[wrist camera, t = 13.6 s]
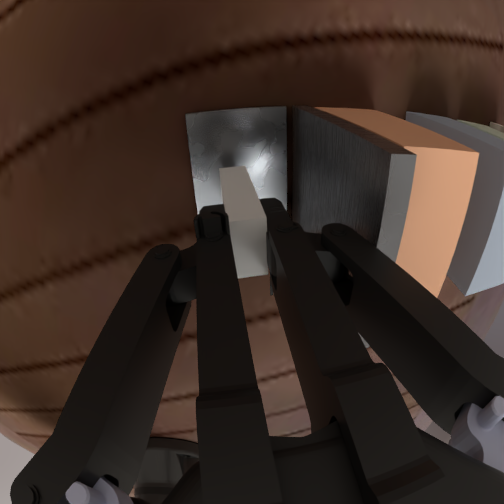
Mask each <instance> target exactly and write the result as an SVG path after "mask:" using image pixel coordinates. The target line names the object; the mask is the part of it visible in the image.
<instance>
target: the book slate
mask: <svg viewBox="0 0 504 504" xmlns="http://www.w3.org/2000/svg"><path fill="white" fill-rule="evenodd" d="M406 121H408V122H411V123H413V124H416V125H419V126H421V127H424V128H426V129H429V130H431V131H433V132H436V133H438V134H440V135H443V136H445V137H447V138H450V139H452V140H454V141H456V142H458V143H460V144H463V145H465V146H467V147H469V148H471V149H473V150H475V151H477V152H479V158H478V163H477V169H476V174H475V178H474V183H473V187H472V192H471V196H470V200H469V204H468V208H467V212H466V215H465V219H464V223H463V226H462V229H461V233H460V236H459V239H458V242H457V245H456V249H455V252H454V254H453V257H452V260H451V263H450V266H449V269H448V271H447V274H446V275H447V276H448V277H449V278H450V279H451V280H452V281H453V283H454V284H455V285H456V286H457V287H458V288H459V289H460V291H461V292H462V293H463V294H464V295H465V296H467V295H470V294H474V293H477V292H480V291H483V290H486V289H488V288H491V287H494V286H497V285H500V284H503V283H504V141H503V140H501V139H499V138H497V137H495V136H492V135H490V134H488V133H486V132H483V131H481V130H479V129H476V128H474V127H471V126H469V125H466V124H464V123H461V122H458V121H456V120H453V119H450V118H447V117H442V116H436V115H429V114H423V113H416V112H408V111H406Z"/></svg>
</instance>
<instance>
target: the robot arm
mask: <svg viewBox="0 0 504 504" xmlns="http://www.w3.org/2000/svg"><path fill="white" fill-rule="evenodd" d="M219 171H220V181H221V191H222V201H223V204H217V205H209V206H203V207H202V209H201V210H200V211H199V214H198V215H197V216H196V217H195V218H194V226H195V232H196V238H197V242H196V243H195V244H194V245H193V246H191V247H189V248H187V249H184V250H181V251H180V250H179V248H178V247H177V246H175V245H172V244H162V245H158V246H156V247H154V248H152V249H151V250H150V251H149V252H148V253H147V254H146V255H145V257H144V259H143V260H142V262H141V264H140V265H139V267H138V268H137V270H136V272H135V273H134V275H133V277H132V278H131V280H130V282H129V283H128V285H127V287H126V288H125V290H124V292H123V294H122V295H121V297H120V299H119V301H118V302H117V304H116V306H115V308H114V309H113V311H112V313H111V315H110V317H109V318H108V320H107V322H106V324H105V326H104V327H103V329H102V331H101V333H100V335H99V337H98V339H97V341H96V342H95V344H94V346H93V348H92V350H91V352H90V354H89V356H88V358H87V360H86V362H85V364H84V366H83V368H82V370H81V372H80V374H79V376H78V378H77V380H76V382H75V384H74V387H73V389H72V391H71V393H70V395H69V397H68V399H67V402H66V404H65V406H64V408H63V411H62V413H61V415H60V417H59V420H58V422H57V424H56V427H55V429H54V432H53V434H52V435H51V436H50V438H49V439H48V440H47V441H46V442H45V443H44V445H43V446H42V447H41V448H40V449H39V451H38V452H37V453H36V454H35V455H34V456H33V458H32V459H31V460H30V461H29V462H28V464H27V465H26V466H25V467H24V469H23V470H22V471H21V472H20V473H19V475H18V476H17V477H16V478H15V480H14V482H13V484H12V486H11V492H10V496H11V501H12V504H504V358H502V357H500V356H499V355H497V354H495V353H494V352H493V351H492V350H491V349H490V348H489V347H488V346H487V345H486V344H485V343H484V342H483V341H482V340H481V339H480V338H479V337H478V336H477V335H476V334H475V333H474V332H473V331H472V330H471V329H470V328H469V327H468V326H467V325H466V324H465V323H464V322H463V321H462V320H460V319H459V318H458V317H457V316H456V315H455V314H454V313H453V312H452V311H451V310H450V309H448V308H447V307H446V306H445V305H444V304H443V303H442V302H441V301H440V300H438V299H437V298H436V297H435V296H434V295H433V294H432V293H431V292H429V291H428V290H427V289H426V288H425V287H424V286H422V285H421V284H420V283H419V282H418V281H417V280H415V279H414V278H413V277H412V276H411V275H410V274H408V273H407V272H406V271H405V270H404V269H402V268H401V267H400V266H399V265H397V264H396V263H395V262H394V261H393V260H391V259H390V258H389V257H388V256H386V255H385V254H384V253H383V252H381V251H380V250H379V249H378V248H376V247H375V246H374V245H373V244H371V243H370V242H369V241H368V240H366V239H365V238H364V237H362V236H361V235H360V234H358V233H357V232H356V231H355V230H353V229H352V228H351V227H349V226H347V225H344V224H341V223H331V224H327V225H325V226H323V228H322V232H321V234H320V233H309V232H304V230H303V228H302V227H301V225H300V224H299V223H296V222H294V221H292V220H291V218H290V217H289V215H288V213H287V211H286V209H285V207H284V206H283V204H282V202H281V201H280V200H278V199H276V198H275V197H274V198H264V199H259V198H258V195H257V193H256V190H255V188H254V186H253V183H252V181H251V178H250V176H249V174H248V171H247V169H246V166H237V167H228V168H219ZM268 267H269V270H270V295H273V293H274V296H275V300H276V303H277V306H278V310H279V313H280V316H281V320H282V323H283V327H284V330H285V333H286V337H287V340H288V344H289V347H290V351H291V354H292V357H293V361H294V364H295V368H296V371H297V375H298V378H299V381H300V385H301V388H302V392H303V395H304V399H305V402H306V406H307V409H308V413H309V416H310V421H311V433H312V434H310V435H308V436H305V437H277V436H269V433H268V428H267V423H266V418H265V413H264V408H263V403H262V398H261V394H260V390H259V389H258V385H257V380H256V375H255V370H254V364H253V359H252V354H251V348H250V343H249V338H248V332H247V327H246V321H245V316H244V310H243V305H242V299H241V293H240V288H239V282H238V278H245V277H252V276H260V275H268ZM349 270H350V272H351V273H352V275H353V277H352V276H351V275H349V274H348V271H349ZM193 299H197V347H198V374H199V396H198V397H197V398H196V420H197V436H198V444H196V443H192V442H188V441H183V440H176V439H167V438H149V437H150V434H151V430H152V427H153V423H154V420H155V417H156V413H157V410H158V407H159V403H160V400H161V397H162V394H163V390H164V387H165V384H166V381H167V378H168V374H169V371H170V368H171V365H172V362H173V359H174V356H175V352H176V349H177V346H178V343H179V340H180V337H181V334H182V331H183V328H184V325H185V322H186V319H187V316H188V313H189V310H190V308H191V300H193ZM359 334H360V335H361V336H362V337H363V339H364V340H365V341H366V342H367V343H368V344H369V346H370V347H371V348H372V349H373V350H374V351H375V353H376V354H377V355H378V356H379V357H380V358H381V360H382V361H383V362H384V363H385V364H386V365H384V364H383V363H374V362H373V361H372V359H371V358H370V356H369V353H368V351H367V349H366V347H365V345H364V343H363V341H362V339H361V337H360V335H359ZM387 367H388V368H389V369H390V370H391V371H392V373H393V374H394V375H395V376H396V377H397V379H398V380H399V381H400V382H401V383H402V385H403V386H404V387H405V388H406V389H407V391H408V392H409V393H410V394H411V395H412V397H413V398H414V399H415V400H416V402H417V403H418V404H419V405H420V406H421V408H422V409H423V410H424V411H425V412H426V413H427V415H428V416H429V417H430V418H431V419H432V420H433V421H434V422H435V423H436V424H437V425H438V426H440V427H441V428H442V429H443V430H444V431H446V432H447V433H449V434H450V435H451V439H450V441H449V444H446V443H444V442H442V441H441V440H439V439H437V438H435V437H433V436H431V435H430V434H428V433H426V432H424V431H423V430H421V429H419V428H417V427H416V425H415V423H414V421H413V419H412V417H411V414H410V412H409V410H408V408H407V406H406V404H405V402H404V399H403V397H402V395H401V393H400V391H399V389H398V387H397V385H396V383H395V381H394V379H393V377H392V375H391V373H390V371H389V369H388V368H387ZM133 486H134V487H135V497H129V496H128V495H129V494H130V492H131V490H132V488H133Z"/></svg>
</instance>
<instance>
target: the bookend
mask: <svg viewBox="0 0 504 504" xmlns="http://www.w3.org/2000/svg"><path fill="white" fill-rule="evenodd" d="M185 116H186V125H187V134H188V143H189V151H190V160H191V168H192V175H193V183H194V191H195V198H196V205H197V212H198V214H199V211H200V210H201V209H202V207H203V206H209V205H217V204H223V201H222V191H221V181H220V171H219V168H228V167H237V166H246V169H247V171H248V174H249V176H250V178H251V181H252V183H253V186H254V188H255V190H256V193H257V195H258V198H259V199H264V198H274V197H275V198H276V199H278V200H280V201H281V202H282V204H283V206H284V207H285V209H286V211H287V121H286V106H264V107H246V108H233V109H221V110H211V111H202V112H194V113H186V114H185ZM292 123H293V185H292V221H294V222H296V223H299V224H300V225H301V227H302V228H303V230H304V232H309V233H320V234H321V232H322V228H323V226H325V225H327V224H331V223H341V224H344V225H347V226H349V227H351V228H352V229H353V230H355V231H356V232H357V233H358V234H360V235H361V236H362V237H364V238H365V239H366V240H368V241H369V242H370V243H371V244H373V245H374V246H375V247H376V248H378V249H379V250H380V251H381V252H383V253H384V254H385V255H386V256H388V257H389V258H390V259H391V260H393V261H394V262H395V263H396V259H397V255H398V251H399V247H400V243H401V239H402V234H403V230H404V225H405V221H406V216H407V211H408V206H409V201H410V195H411V190H412V184H413V178H414V171H415V165H416V157H417V155H416V154H414V153H412V152H411V151H409V150H407V149H405V148H403V147H401V146H399V145H397V144H395V143H393V142H391V141H389V140H387V139H385V138H383V137H381V136H379V135H377V134H375V133H372V132H370V131H368V130H366V129H364V128H361V127H359V126H357V125H355V124H352V123H350V122H348V121H345V120H343V119H340V118H338V117H336V116H333V115H331V114H328V113H326V112H323V111H320V110H318V109H315V108H312V107H310V106H292ZM348 274H349V275H351V276H352V277H353V275H352V273H351V272H350V270H349V271H348ZM359 335H360V334H359ZM360 337H361V339H362V341H363V343H364V345H365V347H366V348H368V347H369V344H368V343H367V342H366V341H365V340H364V339H363V337H362V336H361V335H360Z"/></svg>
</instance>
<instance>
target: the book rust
mask: <svg viewBox="0 0 504 504" xmlns="http://www.w3.org/2000/svg"><path fill="white" fill-rule="evenodd" d="M315 109H318V110H320V111H323V112H326V113H328V114H331V115H333V116H336V117H338V118H340V119H343V120H345V121H348V122H350V123H352V124H355V125H357V126H359V127H361V128H364V129H366V130H368V131H370V132H372V133H375V134H377V135H379V136H381V137H383V138H385V139H387V140H389V141H391V142H393V143H395V144H397V145H399V146H401V147H403V148H405V149H407V150H409V151H411V152H412V153H414V154H416V155H417V157H416V165H415V171H414V178H413V184H412V190H411V195H410V201H409V206H408V211H407V216H406V221H405V225H404V230H403V234H402V239H401V243H400V247H399V251H398V255H397V259H396V264H397V265H399V266H400V267H401V268H402V269H404V270H405V271H406V272H407V273H408V274H410V275H411V276H412V277H413V278H414V279H415V280H417V281H418V282H419V283H420V284H421V285H422V286H424V287H425V288H426V289H427V290H428V291H429V292H431V293H432V294H433V295H434V296H435V297H436V298H437V297H438V295H439V292H440V290H441V287H442V285H443V282H444V279H445V277H446V274H447V271H448V269H449V266H450V263H451V260H452V257H453V254H454V252H455V249H456V245H457V242H458V239H459V236H460V233H461V229H462V226H463V223H464V219H465V215H466V212H467V208H468V204H469V200H470V196H471V192H472V187H473V183H474V178H475V174H476V169H477V163H478V158H479V152H477V151H475V150H473V149H471V148H469V147H467V146H465V145H463V144H460V143H458V142H456V141H454V140H452V139H450V138H447V137H445V136H443V135H440V134H438V133H436V132H433V131H431V130H429V129H426V128H424V127H421V126H419V125H416V124H413V123H411V122H408V121H406V120H403V119H400V118H397V117H394V116H392V115H389V114H386V113H383V112H380V111H377V110H370V109H354V108H328V107H315Z"/></svg>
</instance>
